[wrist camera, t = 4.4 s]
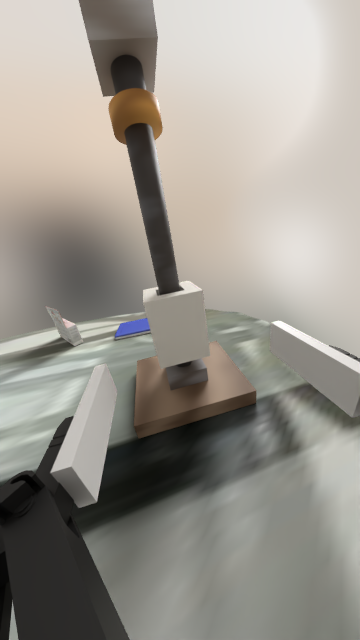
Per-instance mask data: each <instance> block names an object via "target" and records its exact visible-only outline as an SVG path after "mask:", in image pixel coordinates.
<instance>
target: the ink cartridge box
mask: <svg viewBox="0 0 360 640" xmlns="http://www.w3.org/2000/svg"><path fill="white" fill-rule="evenodd" d="M45 307H46V309H47V311H48V312H49V314H50V316H51V317H52V319H53V321H54V323H55V325H56V327H57V330H58V332H59V334H60V336H61V337H62V338H63V339H65V340H66V341H68V342H69V343H71V344H72V345H74V346H77V345H79V344H81V343H83V340H82V338H81V335H80V333H79V330H78V328H77V326H76V324H74V323H71V322H69V321H67V320H65V319H62V318H61V316H60V314H59V312H58V310H56V309H53V308H50V307H47V306H45ZM52 311H53V312H54V313H55V314H53V313H52Z"/></svg>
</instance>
